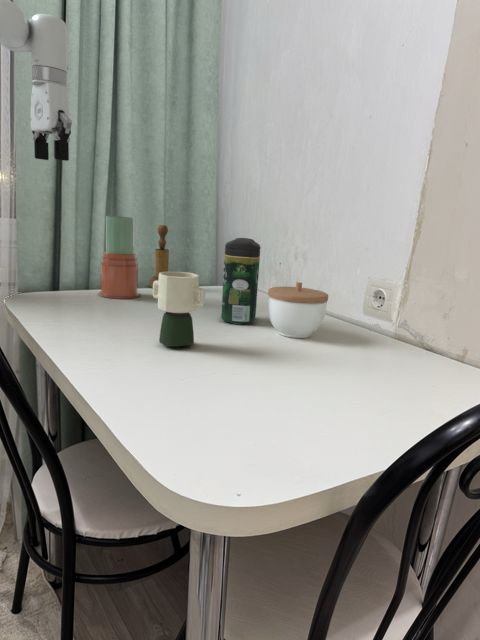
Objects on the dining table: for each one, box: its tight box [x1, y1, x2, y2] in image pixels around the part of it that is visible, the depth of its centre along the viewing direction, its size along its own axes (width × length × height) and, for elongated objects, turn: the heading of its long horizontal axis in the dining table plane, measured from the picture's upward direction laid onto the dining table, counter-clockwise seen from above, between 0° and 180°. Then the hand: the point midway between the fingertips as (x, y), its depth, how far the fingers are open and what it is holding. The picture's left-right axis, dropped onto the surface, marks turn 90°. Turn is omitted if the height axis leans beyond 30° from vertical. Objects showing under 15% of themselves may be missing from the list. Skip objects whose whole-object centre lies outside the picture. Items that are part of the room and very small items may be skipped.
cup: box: [105, 215, 135, 255], centre depth 129 cm, size 7×7×9 cm
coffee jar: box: [220, 237, 262, 325], centre depth 113 cm, size 10×8×19 cm
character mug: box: [152, 271, 206, 348], centre depth 90 cm, size 11×7×13 cm, turn 64°
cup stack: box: [99, 250, 139, 300], centre depth 131 cm, size 10×10×11 cm
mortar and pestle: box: [149, 224, 170, 289], centre depth 147 cm, size 7×6×18 cm
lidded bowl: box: [267, 281, 329, 339], centre depth 107 cm, size 13×13×11 cm
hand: (51, 159), depth 119 cm, fingers open, 9 cm apart
